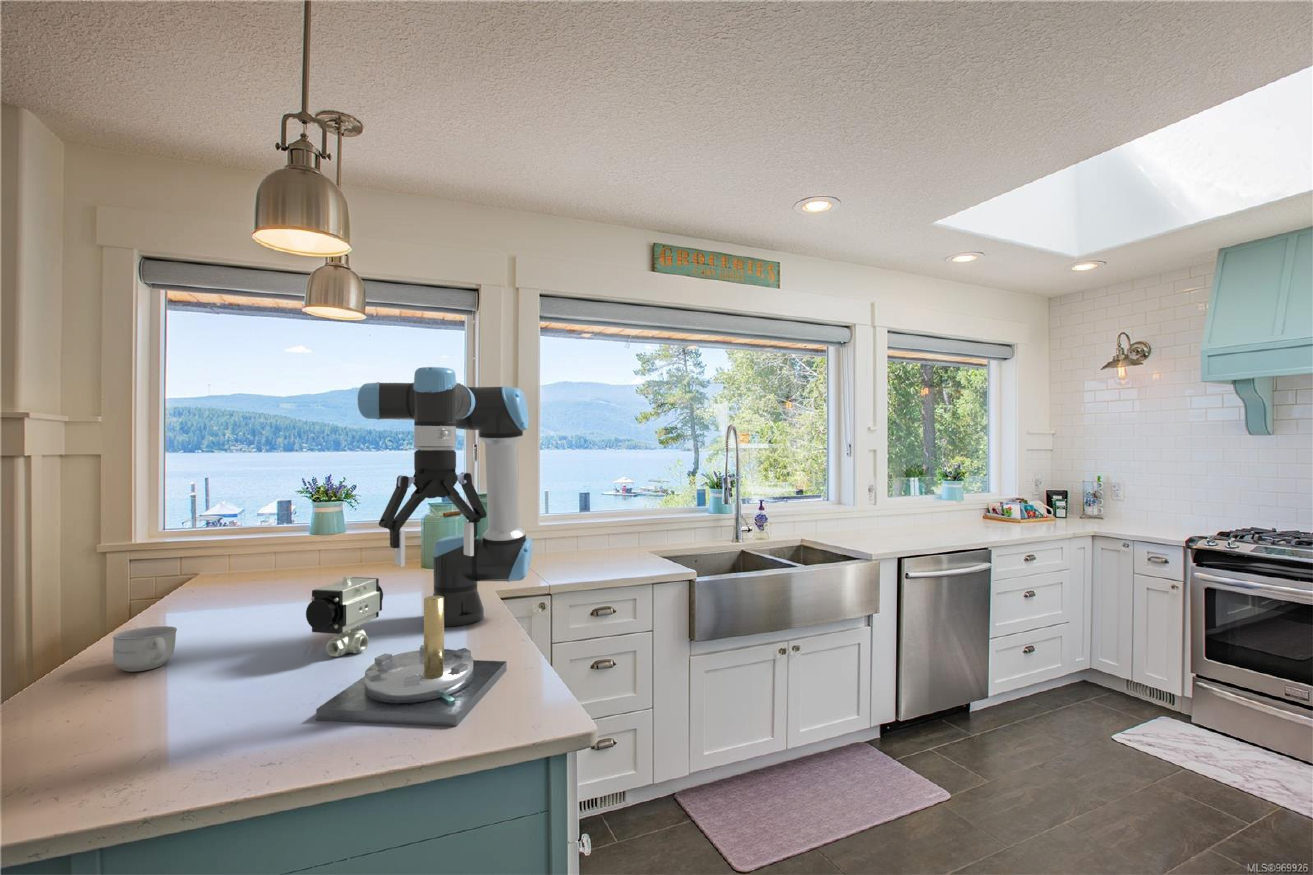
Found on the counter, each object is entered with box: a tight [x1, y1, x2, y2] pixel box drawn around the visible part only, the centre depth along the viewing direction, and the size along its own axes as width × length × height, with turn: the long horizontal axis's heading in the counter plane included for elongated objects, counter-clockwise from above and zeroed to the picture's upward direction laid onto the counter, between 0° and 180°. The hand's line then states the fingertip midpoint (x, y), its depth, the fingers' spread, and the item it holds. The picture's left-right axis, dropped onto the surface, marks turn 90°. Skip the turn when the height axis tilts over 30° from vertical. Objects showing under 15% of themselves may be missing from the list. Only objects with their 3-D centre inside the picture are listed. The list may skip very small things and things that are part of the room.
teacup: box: [112, 625, 178, 673], centre depth 135 cm, size 14×11×8 cm
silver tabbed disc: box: [364, 595, 474, 703], centre depth 122 cm, size 20×20×18 cm
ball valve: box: [305, 575, 384, 657], centre depth 145 cm, size 18×8×18 cm, turn 168°
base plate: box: [315, 659, 508, 727], centre depth 122 cm, size 26×26×3 cm
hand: (435, 560), depth 117 cm, fingers open, 13 cm apart
